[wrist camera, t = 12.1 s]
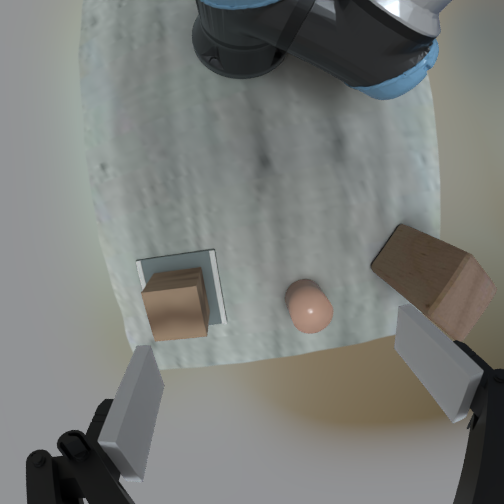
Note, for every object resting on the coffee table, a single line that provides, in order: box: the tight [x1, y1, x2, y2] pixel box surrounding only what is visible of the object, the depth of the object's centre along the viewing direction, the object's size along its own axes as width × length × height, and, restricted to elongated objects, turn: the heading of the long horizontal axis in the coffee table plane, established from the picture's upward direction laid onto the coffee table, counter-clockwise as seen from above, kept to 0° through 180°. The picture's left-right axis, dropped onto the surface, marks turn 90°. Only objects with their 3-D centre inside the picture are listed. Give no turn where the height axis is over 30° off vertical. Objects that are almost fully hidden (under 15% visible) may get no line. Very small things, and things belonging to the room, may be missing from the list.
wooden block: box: [371, 224, 497, 342], centre depth 42 cm, size 10×10×20 cm
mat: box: [136, 249, 227, 325], centre depth 50 cm, size 13×13×1 cm
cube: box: [141, 267, 210, 341], centre depth 46 cm, size 8×8×8 cm
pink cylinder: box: [285, 279, 333, 333], centre depth 49 cm, size 6×6×7 cm
